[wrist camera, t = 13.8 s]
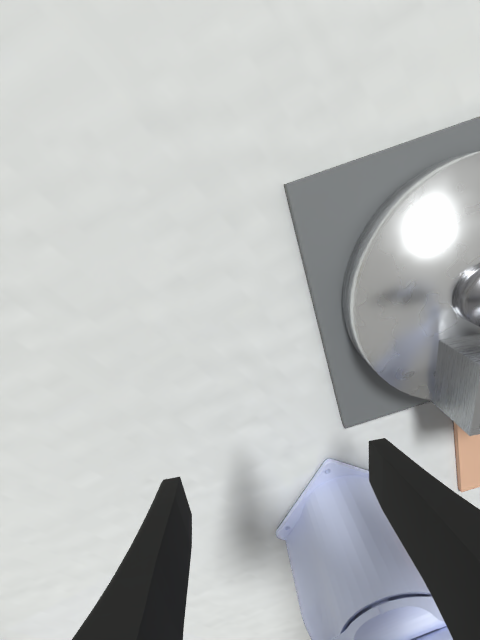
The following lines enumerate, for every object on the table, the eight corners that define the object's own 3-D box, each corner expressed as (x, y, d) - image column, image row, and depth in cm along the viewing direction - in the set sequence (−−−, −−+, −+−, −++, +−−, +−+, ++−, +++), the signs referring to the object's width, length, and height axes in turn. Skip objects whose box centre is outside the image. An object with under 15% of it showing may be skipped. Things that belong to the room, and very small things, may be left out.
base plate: (568, 351, 24) (576, 354, 23) (342, 423, 24) (345, 428, 24) (595, 75, 17) (608, 71, 16) (283, 184, 18) (286, 184, 17)
